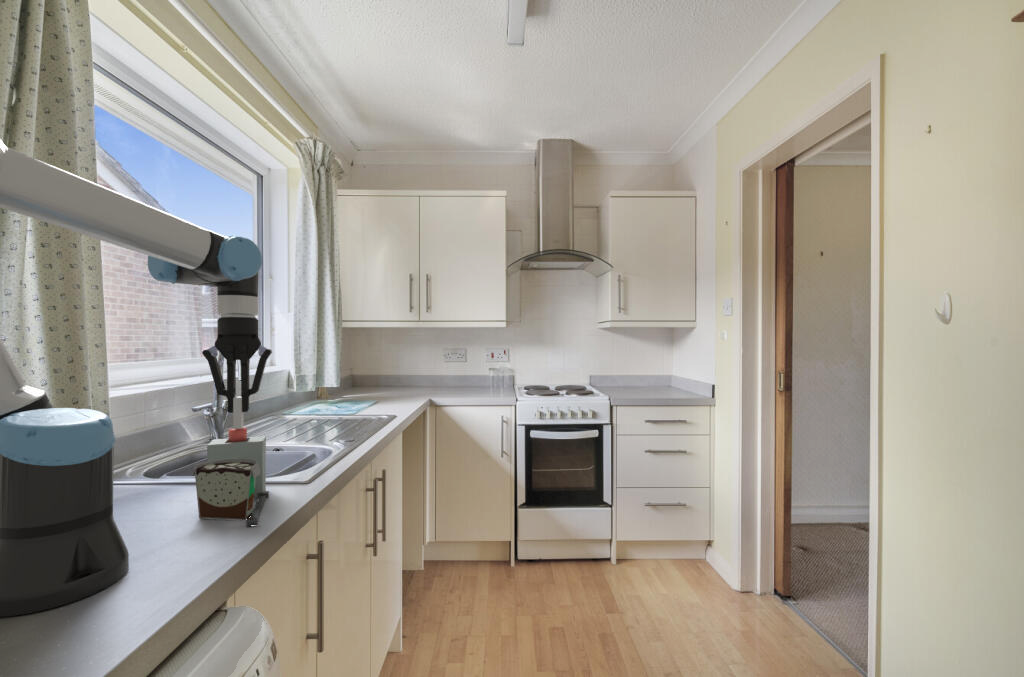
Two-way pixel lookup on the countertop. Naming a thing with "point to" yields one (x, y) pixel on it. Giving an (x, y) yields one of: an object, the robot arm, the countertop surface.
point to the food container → (226, 488)
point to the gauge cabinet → (242, 455)
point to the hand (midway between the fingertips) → (238, 427)
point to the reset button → (237, 435)
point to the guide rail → (257, 509)
